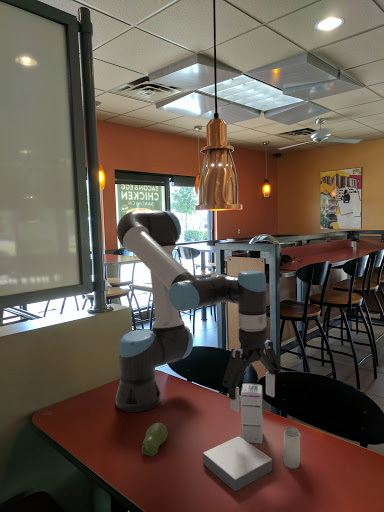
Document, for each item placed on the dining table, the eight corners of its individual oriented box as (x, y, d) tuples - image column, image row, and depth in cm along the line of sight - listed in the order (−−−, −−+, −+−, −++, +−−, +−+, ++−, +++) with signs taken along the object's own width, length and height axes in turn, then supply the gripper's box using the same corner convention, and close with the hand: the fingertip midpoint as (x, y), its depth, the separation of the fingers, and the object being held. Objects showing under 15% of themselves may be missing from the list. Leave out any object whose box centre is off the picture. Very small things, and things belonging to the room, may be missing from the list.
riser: (203, 463, 95) (203, 452, 95) (238, 446, 102) (238, 436, 102) (235, 491, 86) (235, 479, 85) (272, 470, 92) (272, 458, 92)
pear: (170, 420, 105) (154, 446, 96) (171, 436, 107) (156, 463, 98) (151, 417, 107) (135, 442, 98) (153, 432, 109) (137, 458, 100)
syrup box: (262, 444, 103) (262, 393, 102) (240, 442, 104) (240, 391, 103) (262, 432, 109) (263, 384, 107) (242, 430, 110) (242, 382, 108)
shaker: (280, 462, 96) (280, 429, 95) (290, 456, 98) (290, 423, 97) (292, 470, 92) (293, 436, 91) (303, 464, 95) (303, 431, 94)
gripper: (226, 340, 93) (227, 422, 95) (293, 322, 107) (293, 394, 109) (207, 333, 99) (209, 410, 101) (273, 317, 113) (273, 385, 115)
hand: (253, 402), depth 105 cm, fingers open, 13 cm apart
